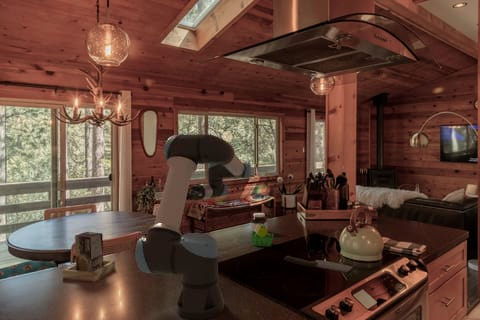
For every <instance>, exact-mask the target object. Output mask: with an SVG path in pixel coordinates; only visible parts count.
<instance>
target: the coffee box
mask: <svg viewBox="0 0 480 320" xmlns="http://www.w3.org/2000/svg"><path fill="white" fill-rule="evenodd" d="M103 238H104V237H103V232H102V233H101V232H93V231H85V232H82V233H79V234H75V235H74V243H75V245H74V246H75V264H76V268H77V271H87V272H94V271H95V270H97V269H99V268H101V267H103V260H104V240H103Z"/></svg>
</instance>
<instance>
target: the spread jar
mask: <svg viewBox="0 0 480 320" xmlns="http://www.w3.org/2000/svg"><path fill="white" fill-rule="evenodd" d="M252 215H253V217H252V218H251V220H250V231H251V233H252V234H253V233H257V230H258V228H259V226H261V225H264V226H265V228H266V229H267V230H268V229H269V228H268V227H269V226H268V225H269V224H268V222H269V221H268V219H267V218H266V216H265V213H264V212H254V213H253V214H252Z"/></svg>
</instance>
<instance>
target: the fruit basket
mask: <svg viewBox="0 0 480 320" xmlns="http://www.w3.org/2000/svg"><path fill="white" fill-rule="evenodd" d="M250 237H251V241H252V246H253V247H256V246H257V247H271V246H272V243H273V238H274V234H273V233H268V229H266V228H265V226H264V225H261V226H259V228H258V230H257V233H253V232H252V234H251V235H250Z"/></svg>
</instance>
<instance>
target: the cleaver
mask: <svg viewBox="0 0 480 320" xmlns="http://www.w3.org/2000/svg"><path fill="white" fill-rule="evenodd" d="M283 259H284V261H285V262H288V263H292V264H297V265H300V266H306V267H309V268H310V267H311V268H320V269H324V270H329V271H335V272H340V273H349V272H351V270H352V269H354V266H351V265H346V264H342V263H337V262H332V261H327V260H326V261H325V260H319V259H315V260H313V261H312V260H306V259H303V258H297V257H293V256H291V255H286V256H285V257H284V258H283Z"/></svg>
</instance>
